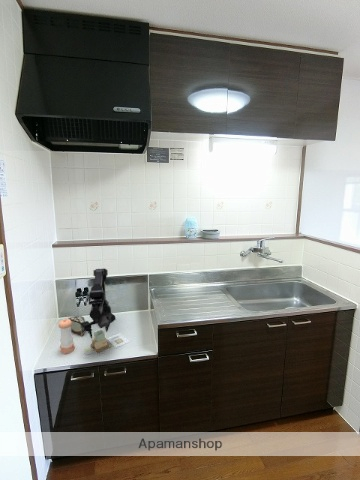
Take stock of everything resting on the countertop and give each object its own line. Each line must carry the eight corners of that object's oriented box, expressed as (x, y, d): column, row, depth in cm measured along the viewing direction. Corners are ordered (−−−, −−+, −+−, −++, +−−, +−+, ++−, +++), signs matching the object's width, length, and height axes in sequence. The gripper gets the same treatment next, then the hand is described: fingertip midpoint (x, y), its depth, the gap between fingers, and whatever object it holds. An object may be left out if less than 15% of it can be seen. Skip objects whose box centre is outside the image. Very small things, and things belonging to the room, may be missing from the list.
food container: (90, 332, 162) (89, 317, 160) (83, 337, 156) (82, 322, 154) (76, 327, 167) (75, 313, 165) (68, 332, 162) (67, 318, 159)
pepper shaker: (70, 344, 149) (67, 314, 145) (76, 349, 145) (74, 319, 141) (58, 350, 144) (55, 319, 140) (64, 355, 139) (61, 324, 135)
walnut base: (90, 347, 147) (90, 343, 147) (103, 342, 153) (103, 338, 152) (97, 354, 142) (96, 350, 141) (109, 348, 147) (109, 344, 147)
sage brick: (94, 338, 146) (93, 332, 145) (101, 335, 149) (101, 329, 148) (97, 342, 143) (97, 335, 142) (105, 338, 146) (104, 332, 145)
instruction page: (106, 338, 155) (106, 338, 155) (119, 333, 161) (119, 332, 161) (115, 347, 146) (115, 347, 146) (129, 341, 152) (129, 341, 152)
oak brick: (92, 343, 147) (91, 338, 146) (102, 339, 151) (102, 334, 150) (96, 349, 142) (96, 343, 141) (107, 344, 146) (107, 339, 145)
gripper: (87, 321, 130) (89, 348, 134) (119, 310, 143) (120, 334, 146) (79, 313, 138) (81, 338, 142) (110, 303, 151) (111, 326, 154)
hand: (99, 334), depth 146 cm, fingers open, 9 cm apart
